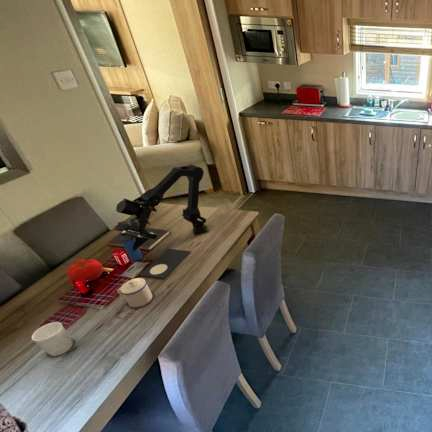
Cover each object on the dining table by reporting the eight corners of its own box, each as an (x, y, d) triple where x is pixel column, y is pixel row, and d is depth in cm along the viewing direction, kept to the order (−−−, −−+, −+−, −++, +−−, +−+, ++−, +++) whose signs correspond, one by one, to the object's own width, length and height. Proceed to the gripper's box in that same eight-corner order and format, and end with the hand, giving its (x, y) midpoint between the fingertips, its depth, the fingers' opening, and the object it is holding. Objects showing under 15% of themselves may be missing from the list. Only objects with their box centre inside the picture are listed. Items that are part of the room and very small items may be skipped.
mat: (168, 249, 164) (168, 248, 164) (190, 252, 164) (189, 251, 163) (139, 276, 148) (139, 274, 147) (163, 279, 147) (163, 277, 147)
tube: (130, 257, 151) (119, 236, 144) (143, 253, 154) (133, 232, 147) (131, 263, 148) (119, 241, 141) (143, 259, 151) (133, 238, 143)
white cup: (58, 339, 119) (43, 322, 113) (80, 338, 120) (67, 321, 114) (41, 358, 112) (25, 341, 107) (64, 357, 113) (50, 340, 108)
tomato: (108, 277, 146) (100, 263, 141) (75, 290, 139) (65, 275, 134) (103, 266, 152) (95, 252, 147) (71, 278, 144) (61, 263, 139)
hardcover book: (150, 250, 163) (148, 247, 162) (109, 245, 165) (107, 242, 163) (170, 232, 176) (169, 229, 175) (132, 228, 178) (131, 225, 177)
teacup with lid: (157, 292, 140) (148, 273, 134) (145, 308, 133) (134, 289, 126) (130, 292, 140) (119, 273, 133) (116, 308, 132) (104, 288, 126)
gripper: (109, 210, 143) (95, 243, 140) (142, 218, 140) (129, 251, 137) (131, 215, 154) (119, 246, 151) (162, 223, 150) (151, 254, 147)
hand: (129, 249), depth 146 cm, fingers closed on tube, 5 cm apart
